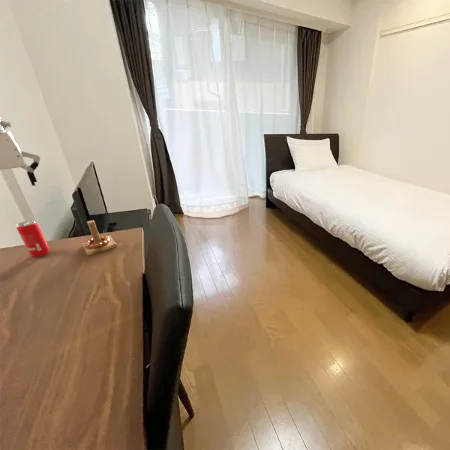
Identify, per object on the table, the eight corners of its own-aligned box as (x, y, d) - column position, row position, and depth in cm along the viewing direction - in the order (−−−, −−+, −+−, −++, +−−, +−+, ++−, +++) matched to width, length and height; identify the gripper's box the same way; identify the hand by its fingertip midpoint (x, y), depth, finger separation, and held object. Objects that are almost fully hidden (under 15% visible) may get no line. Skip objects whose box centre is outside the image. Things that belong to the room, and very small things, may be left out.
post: (87, 255, 94) (77, 229, 90) (82, 246, 100) (72, 221, 96) (117, 246, 100) (108, 221, 96) (110, 237, 106) (102, 214, 101)
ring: (87, 251, 95) (86, 248, 94) (83, 243, 100) (82, 240, 99) (112, 243, 100) (111, 240, 99) (107, 236, 104) (106, 233, 104)
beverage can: (27, 256, 94) (11, 225, 88) (43, 249, 98) (28, 219, 93) (38, 259, 92) (23, 227, 87) (54, 251, 97) (40, 221, 92)
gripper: (27, 124, 81) (48, 179, 89) (-64, 127, 70) (-31, 190, 78) (28, 126, 76) (51, 185, 84) (-69, 130, 65) (-33, 197, 73)
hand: (12, 187), depth 81 cm, fingers open, 9 cm apart
